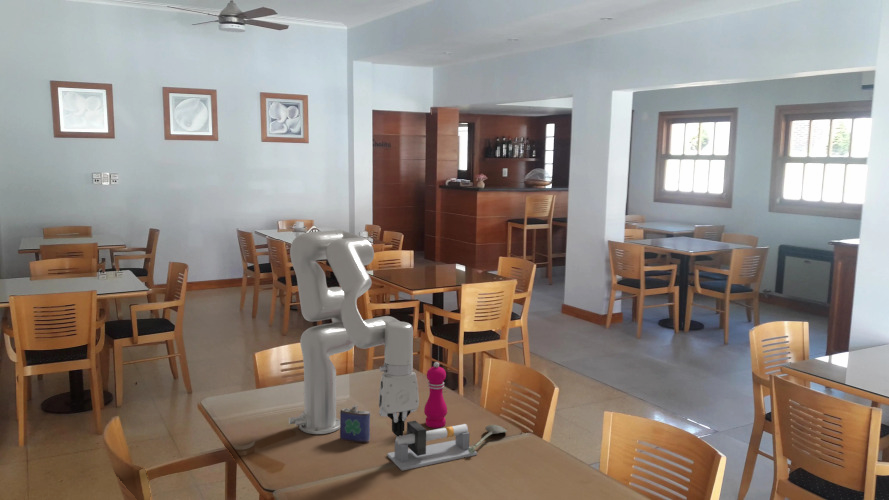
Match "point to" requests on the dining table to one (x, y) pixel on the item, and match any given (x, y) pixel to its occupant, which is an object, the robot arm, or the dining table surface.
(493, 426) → the soupspoon
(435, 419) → the pepper mill
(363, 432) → the flask
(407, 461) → the rail
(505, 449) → the dining table surface
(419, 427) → the collar
